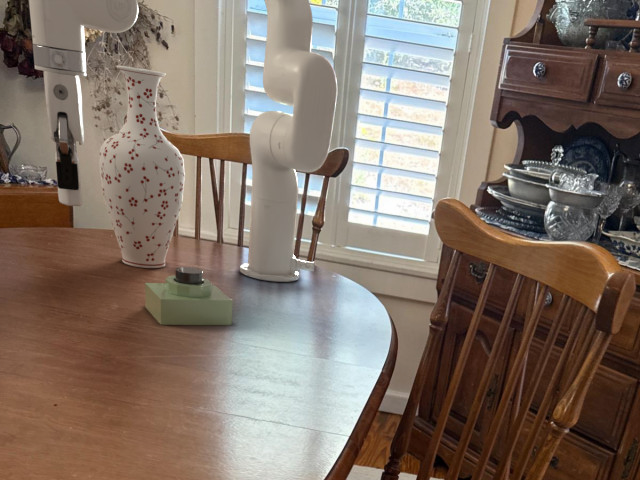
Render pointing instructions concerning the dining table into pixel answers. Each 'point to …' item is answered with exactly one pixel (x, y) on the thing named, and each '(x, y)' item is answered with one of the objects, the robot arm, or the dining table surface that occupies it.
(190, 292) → the button base
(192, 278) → the dark grey button cap
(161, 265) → the vase
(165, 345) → the dining table surface
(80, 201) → the eye dropper bottle
